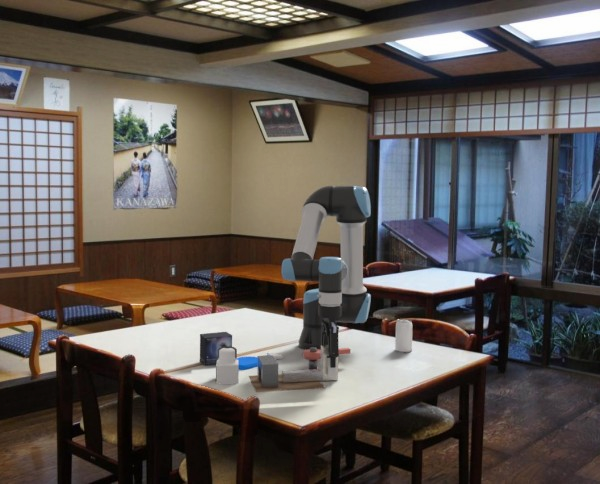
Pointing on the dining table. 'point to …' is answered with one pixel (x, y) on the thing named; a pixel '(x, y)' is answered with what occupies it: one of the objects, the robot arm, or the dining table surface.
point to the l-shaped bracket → (312, 371)
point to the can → (403, 335)
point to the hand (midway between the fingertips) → (329, 373)
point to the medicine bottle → (227, 366)
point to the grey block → (268, 371)
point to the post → (312, 364)
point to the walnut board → (285, 385)
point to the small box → (213, 346)
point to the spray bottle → (253, 361)
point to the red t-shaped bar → (316, 353)
